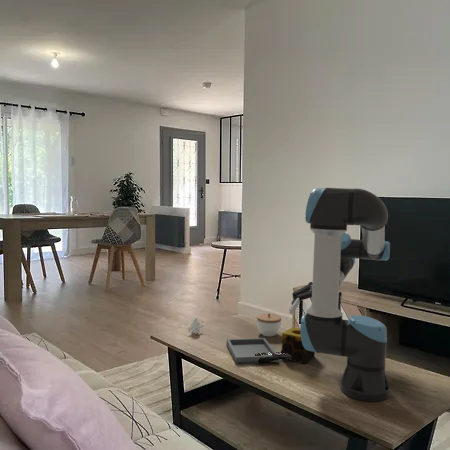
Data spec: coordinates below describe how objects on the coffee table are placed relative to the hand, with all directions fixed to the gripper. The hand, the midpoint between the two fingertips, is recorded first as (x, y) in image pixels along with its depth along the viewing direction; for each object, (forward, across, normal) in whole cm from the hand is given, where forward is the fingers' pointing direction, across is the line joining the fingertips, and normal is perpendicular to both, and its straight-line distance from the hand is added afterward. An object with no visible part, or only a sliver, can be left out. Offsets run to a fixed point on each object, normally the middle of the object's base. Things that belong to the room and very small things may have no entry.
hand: (306, 318), depth 166 cm
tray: (+16, +16, -12) cm, 26 cm away
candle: (+8, 0, -15) cm, 17 cm away
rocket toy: (+16, +48, -20) cm, 54 cm away
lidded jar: (-3, +23, -27) cm, 36 cm away
